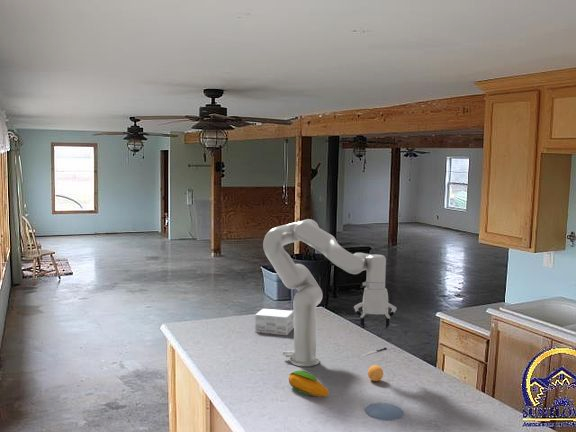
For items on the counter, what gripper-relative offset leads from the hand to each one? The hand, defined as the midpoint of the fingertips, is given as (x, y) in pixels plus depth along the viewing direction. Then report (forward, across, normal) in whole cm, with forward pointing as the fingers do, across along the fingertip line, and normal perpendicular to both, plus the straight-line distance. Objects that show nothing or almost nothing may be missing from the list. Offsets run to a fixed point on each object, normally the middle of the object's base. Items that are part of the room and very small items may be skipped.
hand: (374, 327), depth 221 cm
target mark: (+19, 0, -36) cm, 41 cm away
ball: (+16, 0, -10) cm, 18 cm away
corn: (+19, -26, -24) cm, 40 cm away
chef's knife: (+19, +2, +24) cm, 31 cm away
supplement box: (+18, -44, +53) cm, 71 cm away
